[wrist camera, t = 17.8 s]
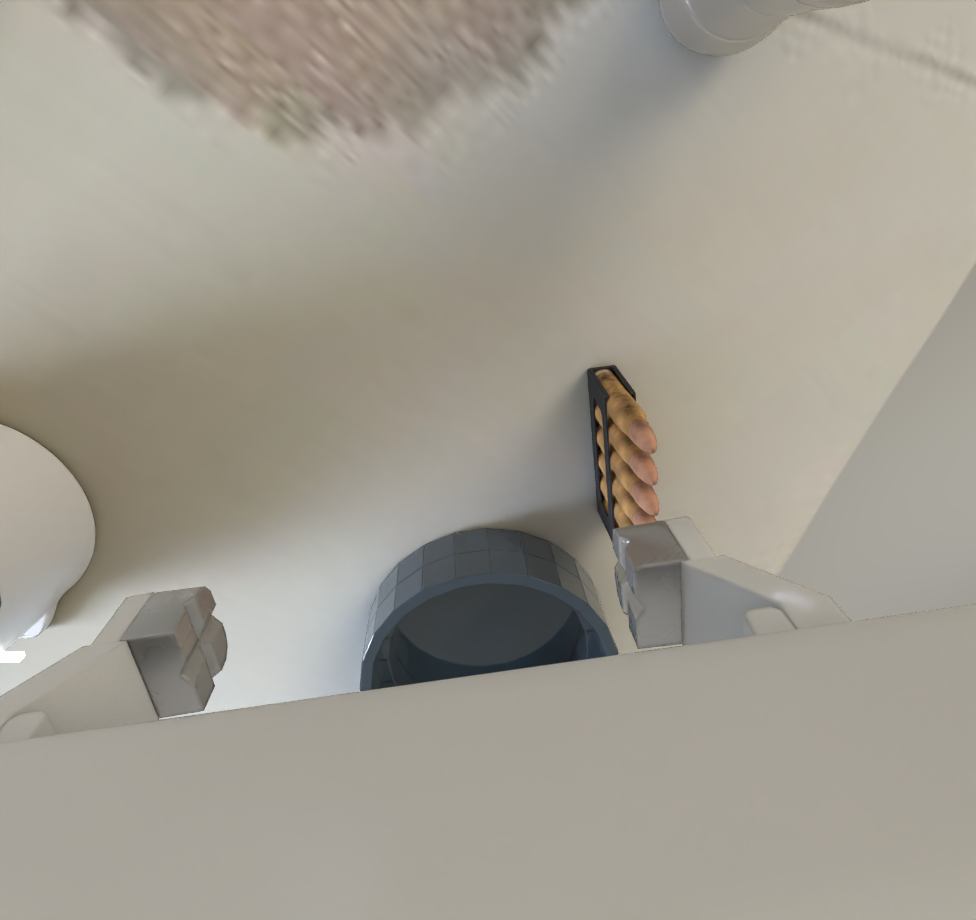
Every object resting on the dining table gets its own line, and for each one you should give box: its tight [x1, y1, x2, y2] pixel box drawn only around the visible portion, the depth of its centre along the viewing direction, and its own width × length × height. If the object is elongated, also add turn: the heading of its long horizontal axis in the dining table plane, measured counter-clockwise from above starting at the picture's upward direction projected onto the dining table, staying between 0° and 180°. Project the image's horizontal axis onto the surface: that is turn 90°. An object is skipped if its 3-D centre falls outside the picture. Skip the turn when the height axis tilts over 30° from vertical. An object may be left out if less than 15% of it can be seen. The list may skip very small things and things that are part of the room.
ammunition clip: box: [587, 365, 659, 542], centre depth 41 cm, size 11×2×12 cm, turn 8°
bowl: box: [360, 528, 618, 691], centre depth 50 cm, size 18×18×6 cm
